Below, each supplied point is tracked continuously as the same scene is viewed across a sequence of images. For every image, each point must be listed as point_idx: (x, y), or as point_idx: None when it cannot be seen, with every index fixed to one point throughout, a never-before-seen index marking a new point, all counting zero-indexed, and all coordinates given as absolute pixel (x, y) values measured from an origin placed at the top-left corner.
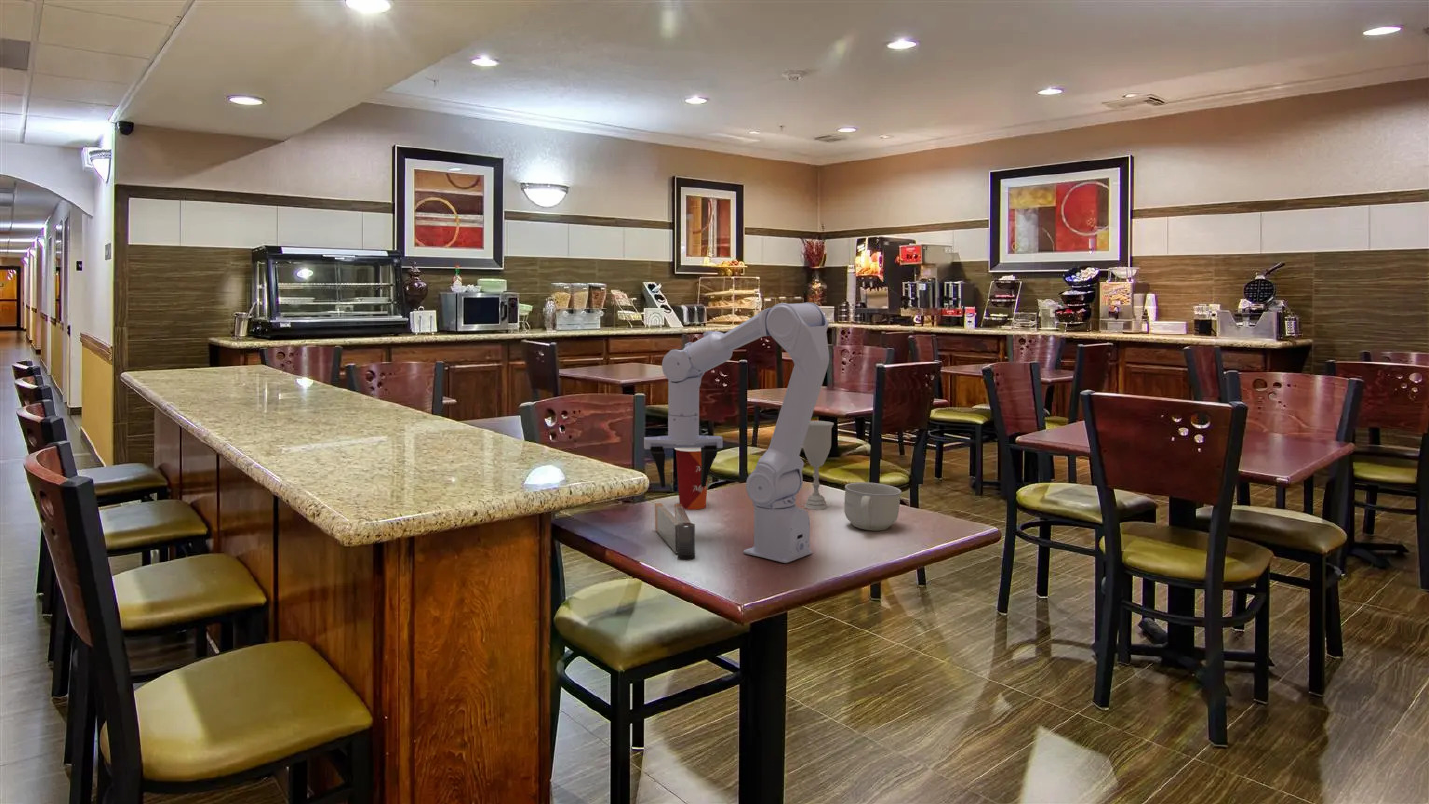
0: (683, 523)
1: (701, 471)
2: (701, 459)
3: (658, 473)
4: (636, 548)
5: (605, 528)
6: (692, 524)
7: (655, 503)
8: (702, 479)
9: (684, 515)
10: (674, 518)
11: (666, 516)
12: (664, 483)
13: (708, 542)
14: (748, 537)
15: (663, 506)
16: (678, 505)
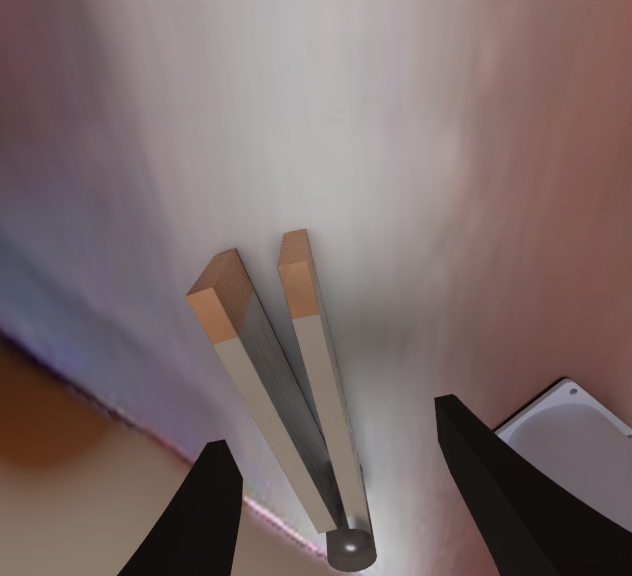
0: (344, 548)
1: (473, 460)
2: (528, 538)
3: (170, 504)
4: (208, 422)
5: (24, 235)
6: (370, 553)
7: (188, 296)
8: (455, 476)
9: (337, 430)
10: (308, 481)
11: (276, 457)
12: (237, 505)
13: (397, 366)
14: (521, 315)
15: (238, 344)
16: (298, 296)
